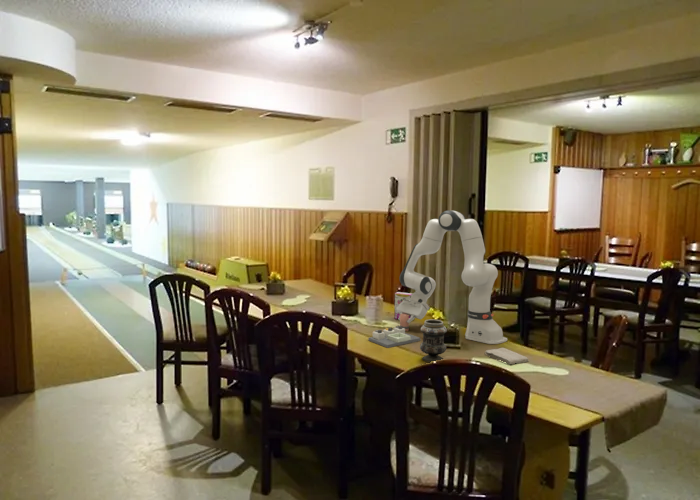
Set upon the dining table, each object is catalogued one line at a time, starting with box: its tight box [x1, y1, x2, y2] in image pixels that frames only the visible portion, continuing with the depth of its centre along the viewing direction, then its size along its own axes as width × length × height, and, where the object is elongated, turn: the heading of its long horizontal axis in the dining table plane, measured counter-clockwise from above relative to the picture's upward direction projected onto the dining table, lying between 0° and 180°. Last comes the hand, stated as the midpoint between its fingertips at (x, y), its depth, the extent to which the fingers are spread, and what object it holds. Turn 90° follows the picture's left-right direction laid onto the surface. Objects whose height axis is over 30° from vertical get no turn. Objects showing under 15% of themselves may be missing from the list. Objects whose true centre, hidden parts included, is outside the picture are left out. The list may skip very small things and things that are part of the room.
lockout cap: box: [399, 313, 410, 332], centre depth 283 cm, size 5×5×9 cm
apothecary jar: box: [419, 318, 448, 363], centre depth 231 cm, size 12×12×18 cm
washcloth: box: [484, 347, 529, 365], centre depth 233 cm, size 12×18×3 cm, turn 25°
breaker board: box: [367, 325, 421, 349], centre depth 262 cm, size 16×22×6 cm
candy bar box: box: [394, 291, 413, 320], centre depth 307 cm, size 11×5×16 cm, turn 58°
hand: (403, 321), depth 282 cm, fingers open, 5 cm apart
